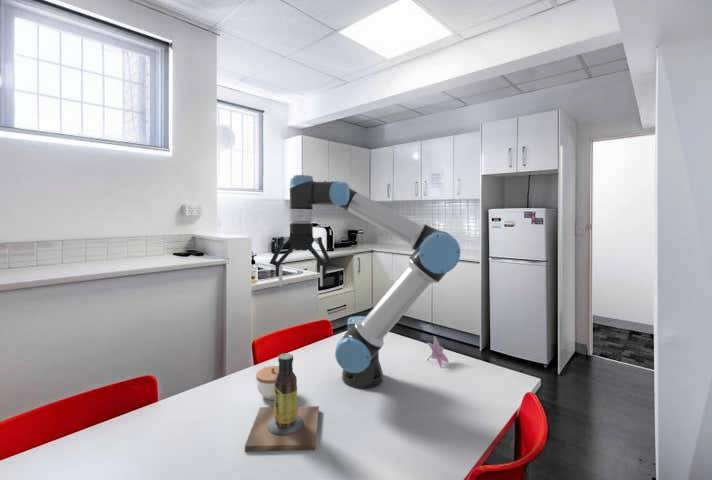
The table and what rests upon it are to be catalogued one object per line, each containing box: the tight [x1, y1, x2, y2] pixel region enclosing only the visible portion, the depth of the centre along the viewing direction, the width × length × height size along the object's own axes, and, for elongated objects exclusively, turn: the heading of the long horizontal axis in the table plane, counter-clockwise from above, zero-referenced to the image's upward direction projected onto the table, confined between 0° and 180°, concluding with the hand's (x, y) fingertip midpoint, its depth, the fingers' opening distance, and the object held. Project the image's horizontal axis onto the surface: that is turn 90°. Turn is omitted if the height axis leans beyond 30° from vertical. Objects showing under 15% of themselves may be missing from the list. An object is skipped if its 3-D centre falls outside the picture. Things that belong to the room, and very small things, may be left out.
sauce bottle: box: [273, 352, 298, 428], centre depth 99 cm, size 6×6×20 cm
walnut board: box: [244, 405, 320, 452], centre depth 100 cm, size 18×18×2 cm
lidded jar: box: [255, 365, 279, 401], centre depth 118 cm, size 11×11×9 cm
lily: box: [426, 335, 450, 368], centre depth 146 cm, size 12×12×10 cm
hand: (301, 285), depth 119 cm, fingers open, 13 cm apart
